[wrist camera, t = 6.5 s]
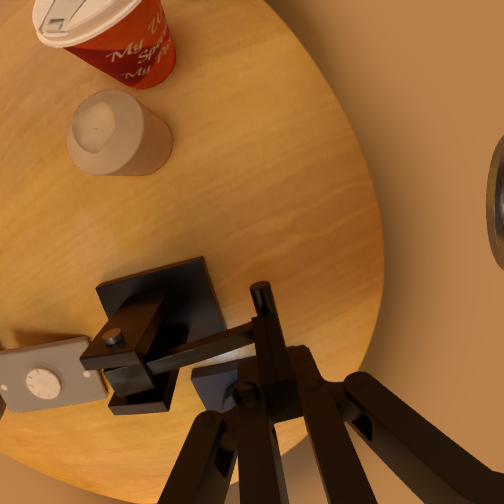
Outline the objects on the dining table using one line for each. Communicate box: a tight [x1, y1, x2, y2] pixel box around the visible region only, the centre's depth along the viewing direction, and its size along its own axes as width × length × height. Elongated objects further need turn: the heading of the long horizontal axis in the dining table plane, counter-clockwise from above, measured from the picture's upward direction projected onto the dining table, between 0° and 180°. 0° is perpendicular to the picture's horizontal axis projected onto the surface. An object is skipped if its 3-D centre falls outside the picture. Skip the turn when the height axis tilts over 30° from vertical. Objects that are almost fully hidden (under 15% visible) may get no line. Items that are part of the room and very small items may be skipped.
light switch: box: [0, 336, 107, 413], centre depth 25 cm, size 8×6×14 cm
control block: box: [191, 346, 295, 424], centre depth 28 cm, size 11×9×4 cm
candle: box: [67, 89, 172, 176], centre depth 18 cm, size 6×6×10 cm
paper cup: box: [32, 0, 176, 89], centre depth 14 cm, size 8×8×14 cm
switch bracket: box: [79, 256, 227, 415], centre depth 21 cm, size 11×8×12 cm
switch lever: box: [103, 281, 286, 397], centre depth 18 cm, size 12×6×2 cm, turn 104°
